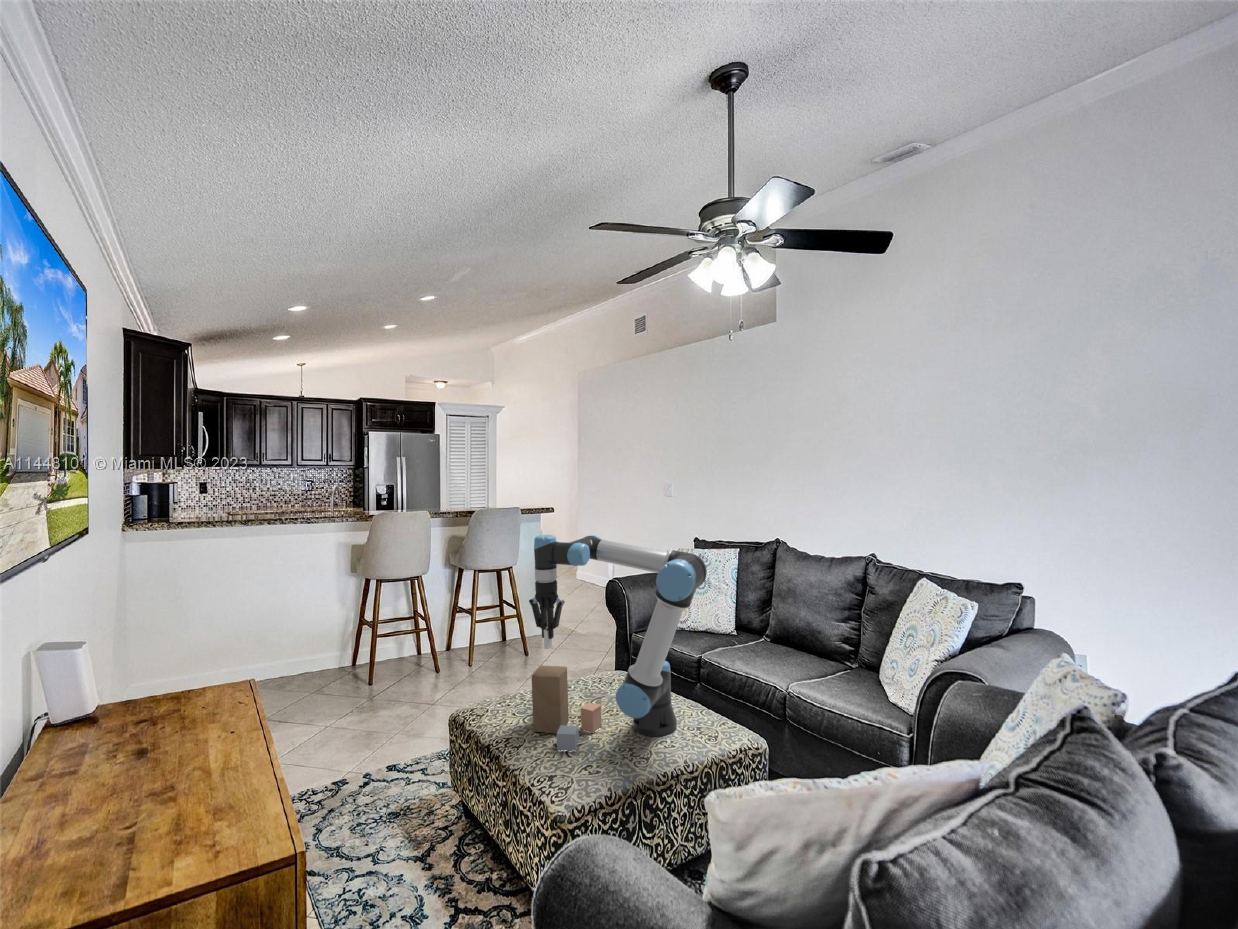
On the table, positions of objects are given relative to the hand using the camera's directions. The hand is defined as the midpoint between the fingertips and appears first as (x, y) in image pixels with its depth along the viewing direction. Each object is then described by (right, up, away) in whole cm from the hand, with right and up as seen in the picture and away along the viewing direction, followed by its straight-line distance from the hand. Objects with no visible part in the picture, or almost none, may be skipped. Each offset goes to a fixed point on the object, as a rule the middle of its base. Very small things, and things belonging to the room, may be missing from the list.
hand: (548, 647), depth 220 cm
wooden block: (+1, -28, +1) cm, 28 cm away
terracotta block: (+15, -28, -1) cm, 32 cm away
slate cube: (+8, -29, -13) cm, 33 cm away
